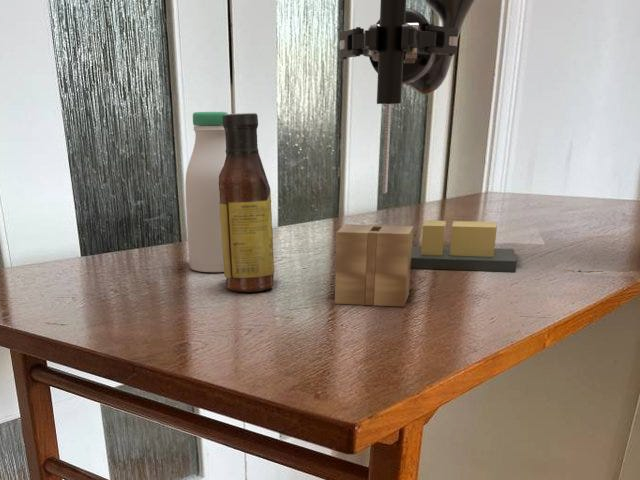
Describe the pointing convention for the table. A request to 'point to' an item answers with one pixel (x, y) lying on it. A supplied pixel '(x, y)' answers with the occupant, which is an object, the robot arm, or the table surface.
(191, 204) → the milk bottle
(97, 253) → the table surface
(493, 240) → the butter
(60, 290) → the table surface
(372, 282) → the cardboard box
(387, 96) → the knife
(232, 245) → the sauce bottle
